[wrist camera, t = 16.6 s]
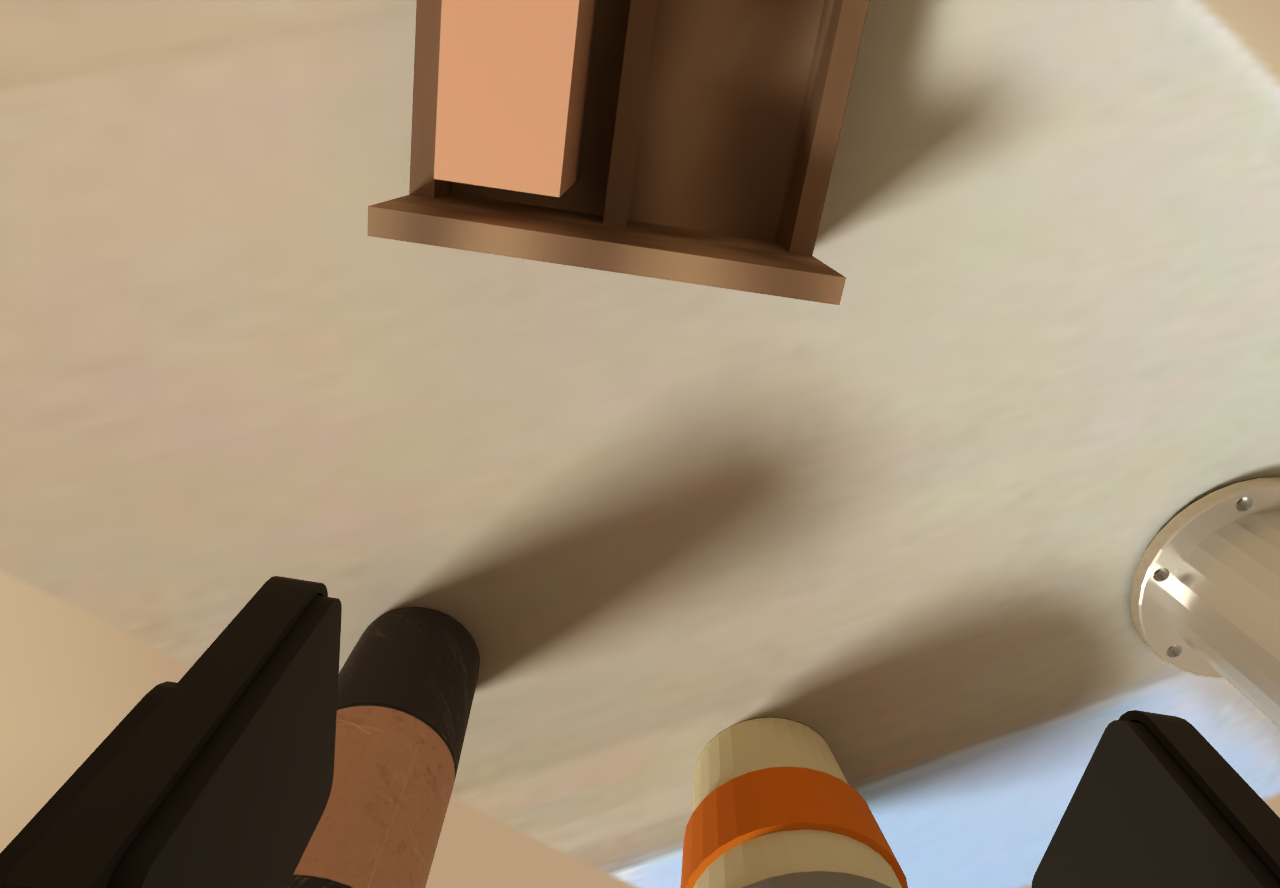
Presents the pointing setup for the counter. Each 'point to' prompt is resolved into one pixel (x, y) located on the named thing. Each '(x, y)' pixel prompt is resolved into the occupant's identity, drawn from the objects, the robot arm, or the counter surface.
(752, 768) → the reusable coffee cup
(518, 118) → the peach rectangular block
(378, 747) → the travel mug
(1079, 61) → the counter surface
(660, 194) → the wooden crate
